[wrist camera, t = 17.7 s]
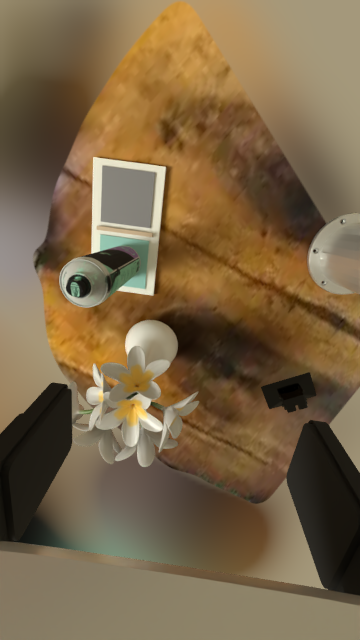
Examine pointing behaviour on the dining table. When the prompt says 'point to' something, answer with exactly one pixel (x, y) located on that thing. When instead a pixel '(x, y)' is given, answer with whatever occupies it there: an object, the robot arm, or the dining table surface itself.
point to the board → (129, 214)
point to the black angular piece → (290, 392)
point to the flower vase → (133, 398)
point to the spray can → (98, 275)
